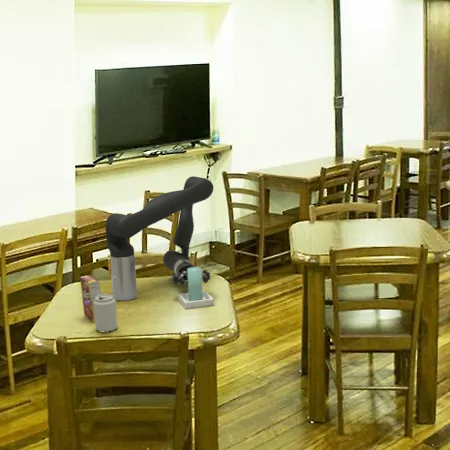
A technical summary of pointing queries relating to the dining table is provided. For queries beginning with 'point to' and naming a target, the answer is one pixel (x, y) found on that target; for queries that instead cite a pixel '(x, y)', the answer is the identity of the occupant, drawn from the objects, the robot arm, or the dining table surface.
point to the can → (105, 313)
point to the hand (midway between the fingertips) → (195, 281)
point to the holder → (196, 304)
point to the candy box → (89, 295)
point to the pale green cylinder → (195, 283)
